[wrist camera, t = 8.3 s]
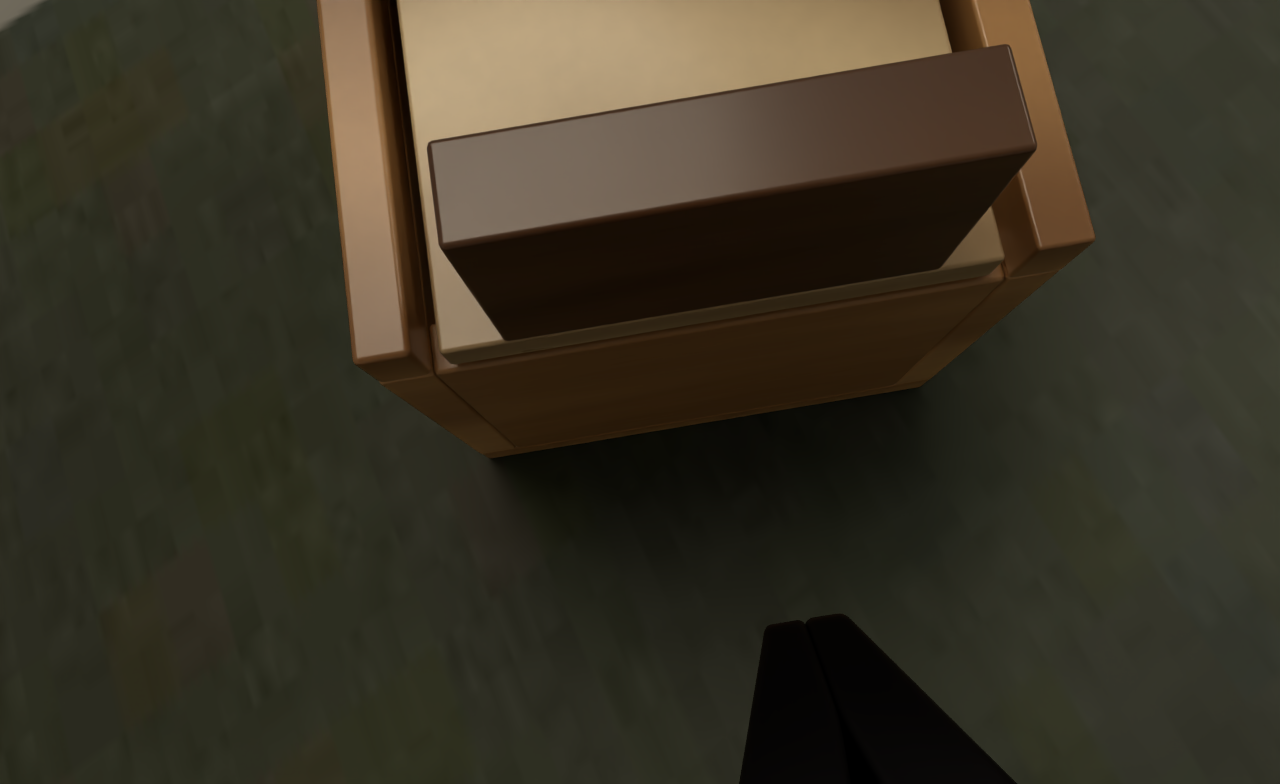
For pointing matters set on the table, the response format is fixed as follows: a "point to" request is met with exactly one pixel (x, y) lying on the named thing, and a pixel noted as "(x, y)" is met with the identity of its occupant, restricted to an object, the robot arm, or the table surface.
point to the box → (676, 357)
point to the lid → (696, 160)
